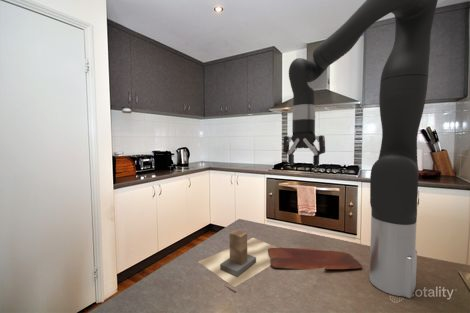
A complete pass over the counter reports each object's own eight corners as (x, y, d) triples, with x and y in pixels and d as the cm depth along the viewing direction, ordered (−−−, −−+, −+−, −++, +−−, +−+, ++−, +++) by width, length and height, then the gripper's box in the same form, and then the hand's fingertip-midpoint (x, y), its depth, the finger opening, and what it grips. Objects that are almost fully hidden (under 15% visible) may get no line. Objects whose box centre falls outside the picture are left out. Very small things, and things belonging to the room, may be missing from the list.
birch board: (290, 257, 71) (290, 253, 71) (234, 293, 55) (234, 287, 55) (253, 241, 83) (253, 237, 83) (198, 266, 67) (197, 261, 67)
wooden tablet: (272, 271, 62) (272, 265, 62) (266, 250, 72) (266, 246, 72) (367, 272, 63) (367, 267, 63) (348, 252, 73) (348, 247, 73)
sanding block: (256, 262, 66) (255, 230, 65) (237, 277, 59) (237, 241, 58) (239, 256, 70) (239, 226, 69) (220, 269, 63) (219, 236, 62)
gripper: (279, 119, 80) (279, 165, 81) (321, 116, 71) (320, 167, 72) (288, 121, 86) (288, 163, 87) (328, 118, 77) (327, 165, 78)
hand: (303, 165), depth 80 cm, fingers open, 8 cm apart
